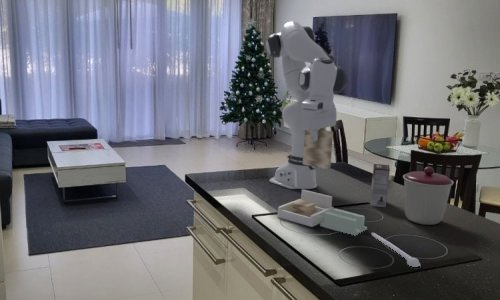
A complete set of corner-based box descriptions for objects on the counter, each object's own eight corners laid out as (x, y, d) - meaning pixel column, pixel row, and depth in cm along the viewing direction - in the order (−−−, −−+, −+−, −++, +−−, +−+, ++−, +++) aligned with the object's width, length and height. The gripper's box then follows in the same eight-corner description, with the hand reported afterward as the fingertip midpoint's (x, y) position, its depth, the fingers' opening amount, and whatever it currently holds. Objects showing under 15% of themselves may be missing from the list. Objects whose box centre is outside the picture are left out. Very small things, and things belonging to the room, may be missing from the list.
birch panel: (302, 164, 194) (305, 128, 192) (305, 163, 196) (307, 127, 193) (327, 169, 188) (330, 132, 185) (330, 168, 189) (333, 131, 186)
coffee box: (369, 199, 219) (373, 163, 216) (385, 201, 218) (389, 164, 215) (370, 205, 210) (374, 168, 207) (386, 207, 209) (390, 169, 206)
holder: (320, 226, 183) (321, 212, 182) (332, 220, 190) (333, 207, 189) (355, 236, 174) (356, 222, 173) (367, 229, 181) (368, 216, 180)
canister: (388, 215, 199) (394, 162, 195) (424, 211, 206) (430, 160, 202) (420, 231, 183) (427, 174, 179) (458, 226, 190) (466, 171, 186)
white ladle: (363, 235, 176) (364, 228, 176) (374, 235, 178) (375, 227, 177) (410, 269, 150) (411, 260, 150) (422, 269, 151) (423, 260, 151)
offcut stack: (290, 218, 190) (291, 202, 189) (299, 214, 195) (300, 199, 193) (306, 223, 186) (307, 207, 184) (315, 219, 190) (316, 203, 189)
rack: (277, 217, 190) (278, 196, 189) (299, 208, 202) (300, 188, 200) (311, 227, 181) (313, 205, 180) (332, 217, 193) (334, 197, 191)
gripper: (327, 100, 197) (324, 135, 200) (298, 103, 181) (296, 141, 184) (342, 102, 193) (339, 138, 196) (314, 105, 177) (311, 144, 180)
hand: (318, 139), depth 190 cm, fingers closed on birch panel, 2 cm apart
